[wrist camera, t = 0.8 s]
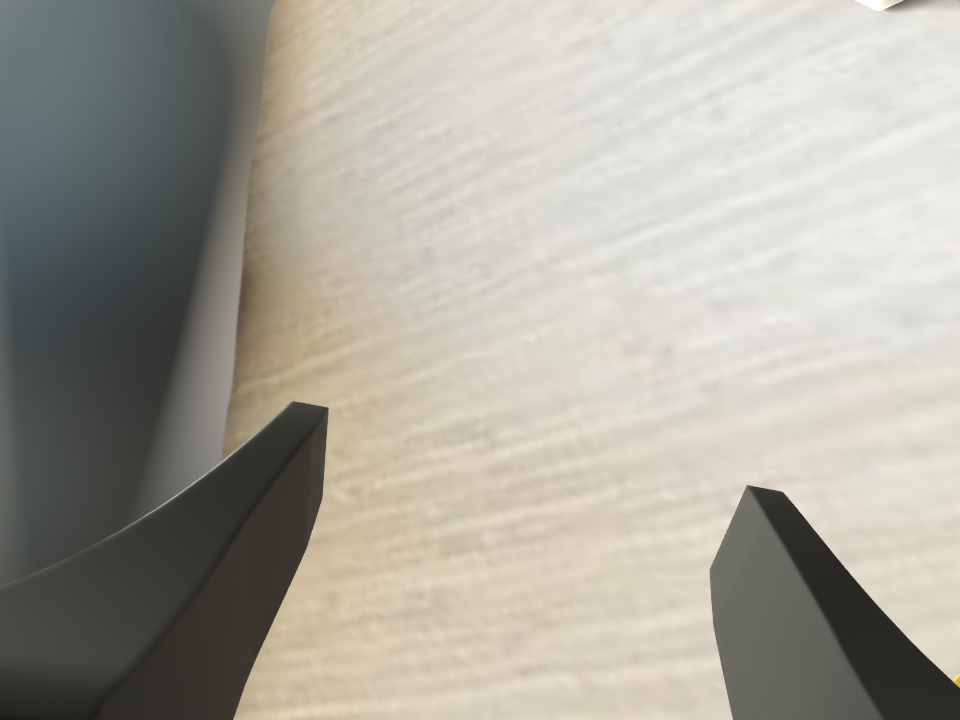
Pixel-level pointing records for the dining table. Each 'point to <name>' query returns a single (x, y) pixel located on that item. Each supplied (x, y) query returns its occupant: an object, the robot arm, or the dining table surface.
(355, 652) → the dining table surface
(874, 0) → the jar
